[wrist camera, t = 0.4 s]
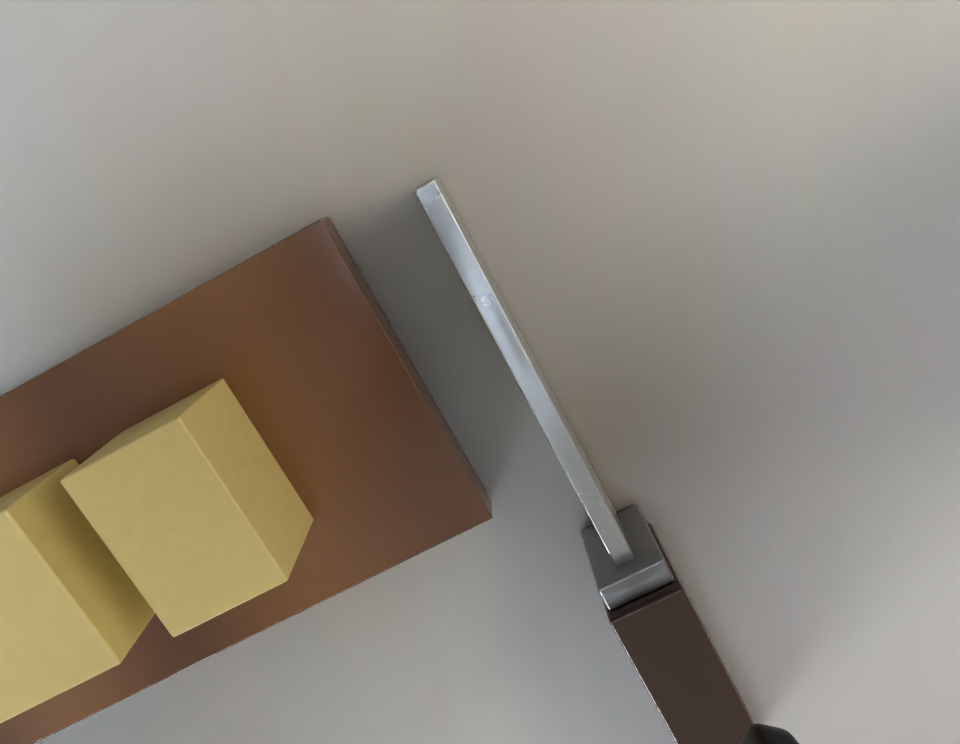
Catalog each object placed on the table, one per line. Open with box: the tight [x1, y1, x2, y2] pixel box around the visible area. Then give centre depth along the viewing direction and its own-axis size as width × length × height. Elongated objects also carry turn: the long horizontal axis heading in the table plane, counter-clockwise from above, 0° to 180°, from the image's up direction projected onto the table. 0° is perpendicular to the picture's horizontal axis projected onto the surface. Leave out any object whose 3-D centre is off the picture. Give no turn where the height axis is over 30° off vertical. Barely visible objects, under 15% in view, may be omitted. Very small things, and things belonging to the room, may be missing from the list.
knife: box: [414, 177, 754, 744], centre depth 23 cm, size 2×22×4 cm, turn 28°
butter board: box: [0, 217, 492, 744], centre depth 24 cm, size 20×10×1 cm, turn 118°
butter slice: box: [60, 379, 313, 637], centre depth 21 cm, size 4×5×4 cm
